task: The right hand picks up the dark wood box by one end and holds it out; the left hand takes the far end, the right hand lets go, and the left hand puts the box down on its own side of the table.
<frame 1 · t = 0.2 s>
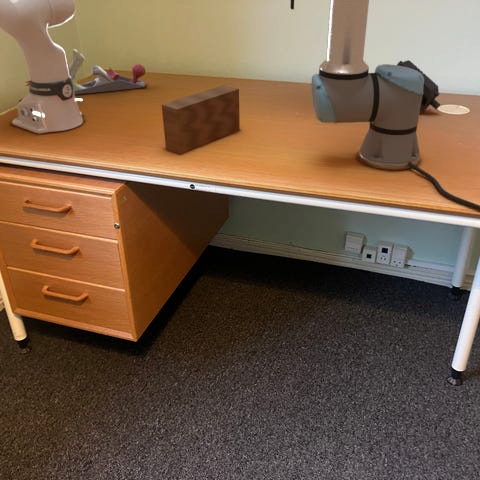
right hand: (314, 8, 165), 30 cm above the table, tool pointing down, fingers open, 13 cm apart
box: (204, 139, 153), on the table
tool: (406, 109, 173), on the table
hand plane: (105, 89, 198), on the table
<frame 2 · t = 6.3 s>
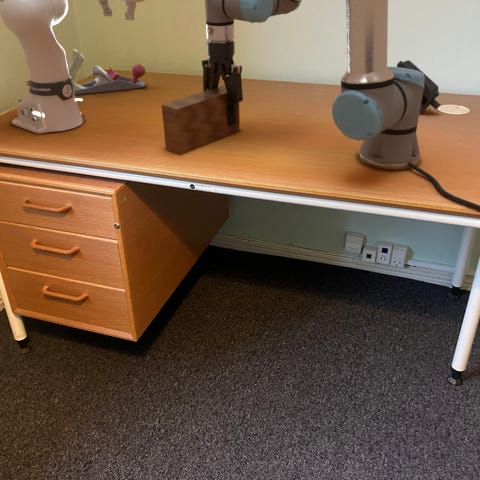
left hand: (118, 18, 138), 33 cm above the table, tool pointing down, fingers open, 8 cm apart
right hand: (223, 122, 157), 3 cm above the table, tool pointing down, fingers closed on box, 6 cm apart
box: (204, 139, 153), on the table, touching right hand
everything else where it was.
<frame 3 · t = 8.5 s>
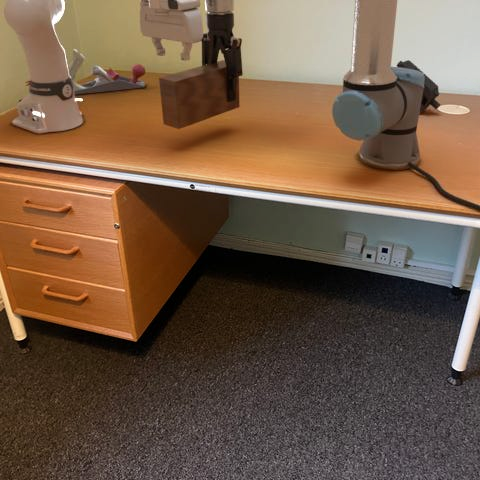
left hand: (173, 57, 136), 24 cm above the table, tool pointing down, fingers open, 8 cm apart
right hand: (222, 98, 153), 10 cm above the table, tool pointing down, fingers closed on box, 6 cm apart
box: (203, 115, 150), point 7 cm above the table, touching right hand
everything else where it was.
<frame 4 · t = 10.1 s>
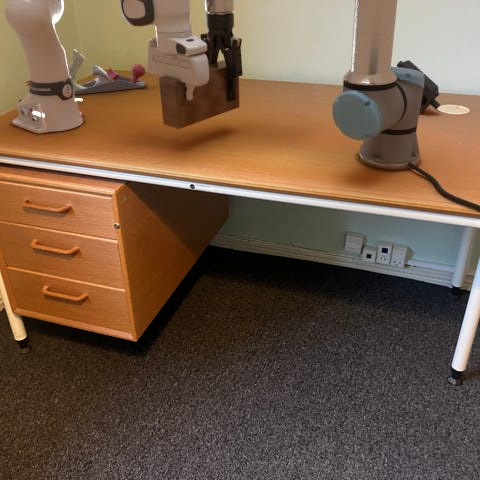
left hand: (179, 96, 141), 14 cm above the table, tool pointing down, fingers closed on box, 6 cm apart
right hand: (222, 98, 153), 10 cm above the table, tool pointing down, fingers closed on box, 6 cm apart
box: (202, 115, 150), point 7 cm above the table, touching right hand, left hand
everything else where it was.
when the right hand's fingers open (10 cm above the table, at t = 11.2 s): box stays where it is, held by the left hand.
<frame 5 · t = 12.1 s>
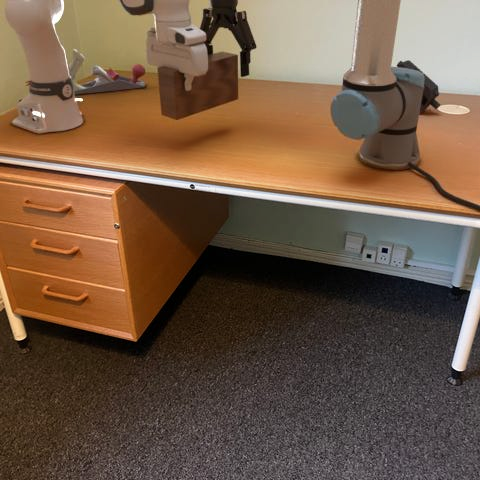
left hand: (177, 87, 139), 17 cm above the table, tool pointing down, fingers closed on box, 6 cm apart
right hand: (226, 72, 150), 17 cm above the table, tool pointing down, fingers open, 13 cm apart
box: (201, 106, 148), point 10 cm above the table, touching left hand
everything else where it was.
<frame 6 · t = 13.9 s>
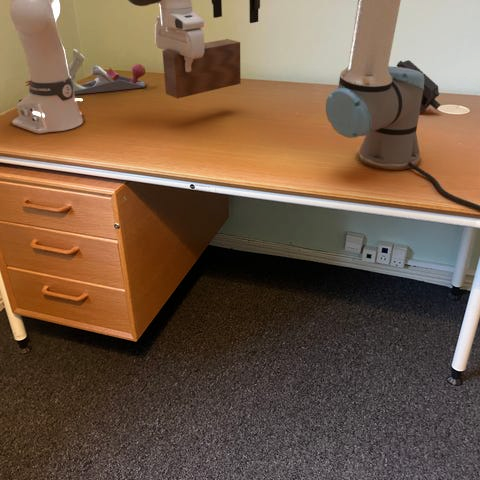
left hand: (180, 68, 155), 17 cm above the table, tool pointing down, fingers closed on box, 6 cm apart
right hand: (235, 19, 146), 30 cm above the table, tool pointing down, fingers open, 13 cm apart
box: (204, 88, 163), point 10 cm above the table, touching left hand
everything else where it was.
when the left hand's fingers open (9 cm above the table, at t = 17.9 s): box stays where it is, on the table.
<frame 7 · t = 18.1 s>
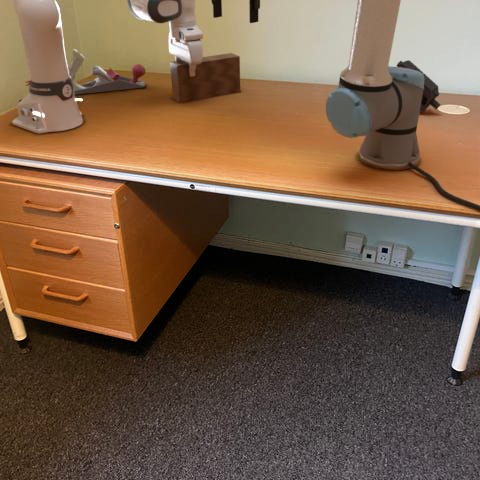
left hand: (186, 72, 182), 9 cm above the table, tool pointing down, fingers open, 8 cm apart
right hand: (235, 19, 146), 30 cm above the table, tool pointing down, fingers open, 13 cm apart
box: (207, 95, 190), on the table
everything else where it was.
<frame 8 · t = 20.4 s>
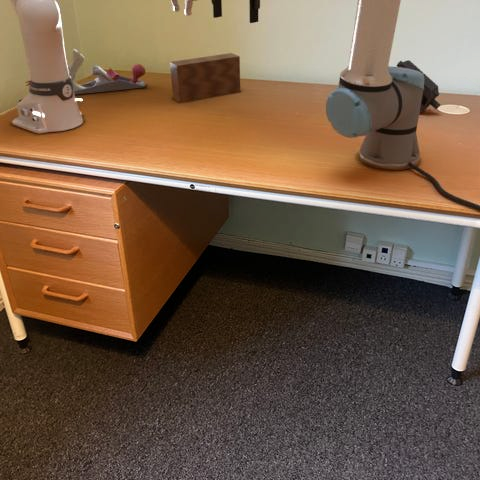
left hand: (182, 13, 172), 28 cm above the table, tool pointing down, fingers open, 8 cm apart
right hand: (235, 19, 146), 30 cm above the table, tool pointing down, fingers open, 13 cm apart
nothing on the table moved.
at the end: box inside the target area (7.5 cm from its centre), on the table; the left hand is holding nothing; the right hand is holding nothing; box at rest at the end (0.0 cm/s) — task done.
